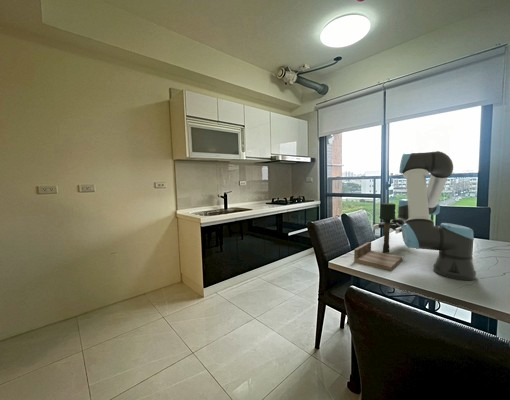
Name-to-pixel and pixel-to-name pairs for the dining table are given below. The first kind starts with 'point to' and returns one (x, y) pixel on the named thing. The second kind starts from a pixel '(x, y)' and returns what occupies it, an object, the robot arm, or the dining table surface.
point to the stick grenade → (387, 222)
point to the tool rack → (375, 257)
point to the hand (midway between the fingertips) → (384, 229)
